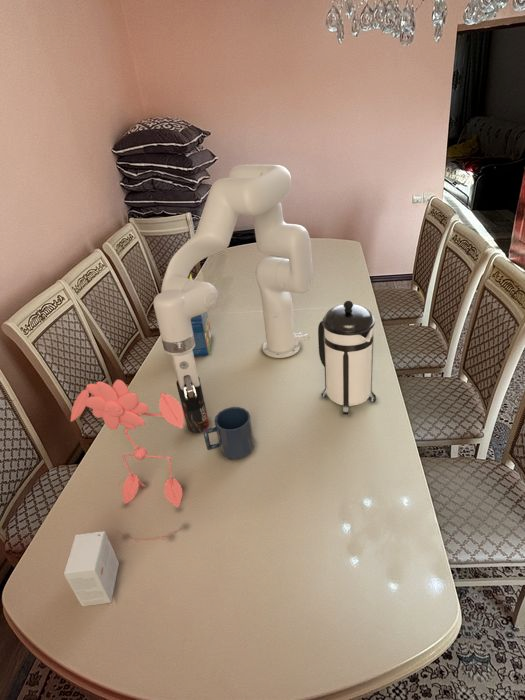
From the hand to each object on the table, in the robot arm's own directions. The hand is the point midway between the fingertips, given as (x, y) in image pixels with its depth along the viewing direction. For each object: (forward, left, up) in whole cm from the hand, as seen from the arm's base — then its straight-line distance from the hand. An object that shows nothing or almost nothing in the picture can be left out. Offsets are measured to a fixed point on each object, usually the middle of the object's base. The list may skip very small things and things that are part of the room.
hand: (190, 398), depth 117 cm
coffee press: (-41, +4, -10) cm, 43 cm away
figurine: (+15, +24, -10) cm, 30 cm away
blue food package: (-8, -41, -10) cm, 43 cm away
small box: (+25, +38, -10) cm, 46 cm away
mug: (-7, +12, -10) cm, 17 cm away
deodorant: (0, 0, -10) cm, 10 cm away
